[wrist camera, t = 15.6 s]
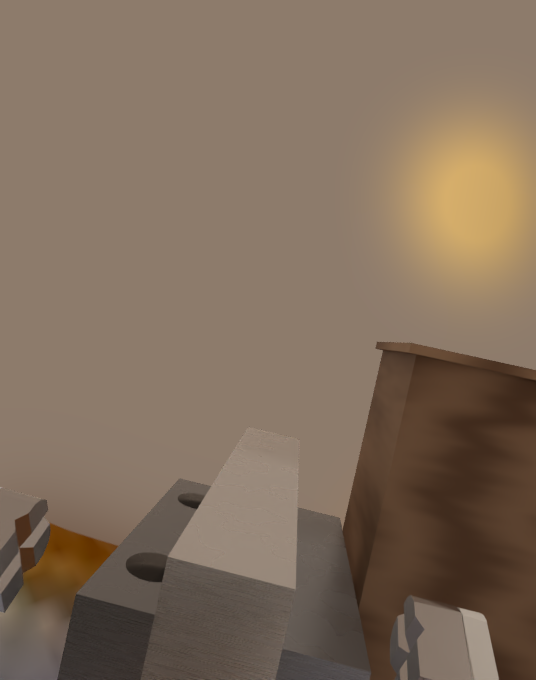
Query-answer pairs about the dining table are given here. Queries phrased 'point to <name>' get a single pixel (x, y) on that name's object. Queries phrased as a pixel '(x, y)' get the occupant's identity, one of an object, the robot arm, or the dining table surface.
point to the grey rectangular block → (232, 571)
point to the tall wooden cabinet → (447, 500)
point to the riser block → (145, 583)
